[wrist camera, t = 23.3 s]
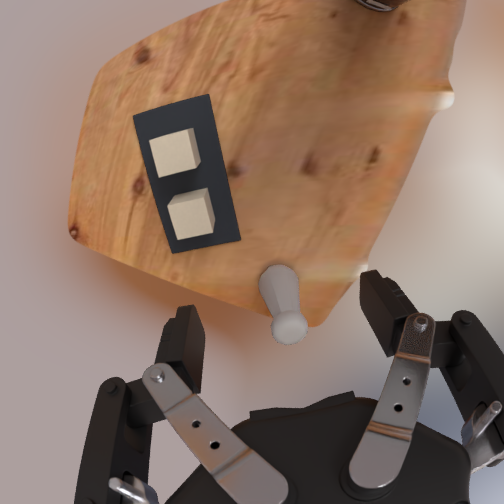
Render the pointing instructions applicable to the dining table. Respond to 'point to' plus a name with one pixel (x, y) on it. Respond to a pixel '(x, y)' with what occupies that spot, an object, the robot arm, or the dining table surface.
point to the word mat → (204, 176)
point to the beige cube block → (192, 214)
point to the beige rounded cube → (175, 152)
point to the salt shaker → (283, 304)
